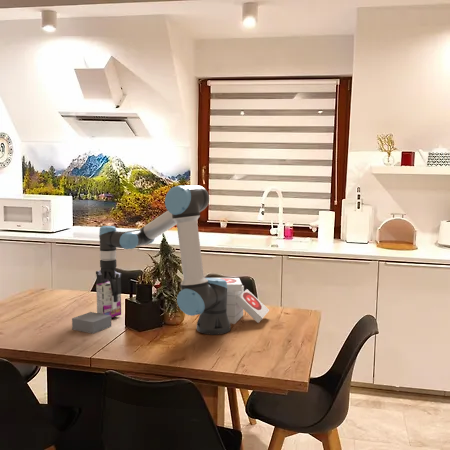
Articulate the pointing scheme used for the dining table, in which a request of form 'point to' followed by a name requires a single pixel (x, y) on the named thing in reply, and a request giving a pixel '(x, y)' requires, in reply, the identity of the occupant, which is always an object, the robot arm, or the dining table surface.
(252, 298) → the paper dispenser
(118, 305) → the candy bar box
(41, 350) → the dining table surface
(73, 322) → the grey block
